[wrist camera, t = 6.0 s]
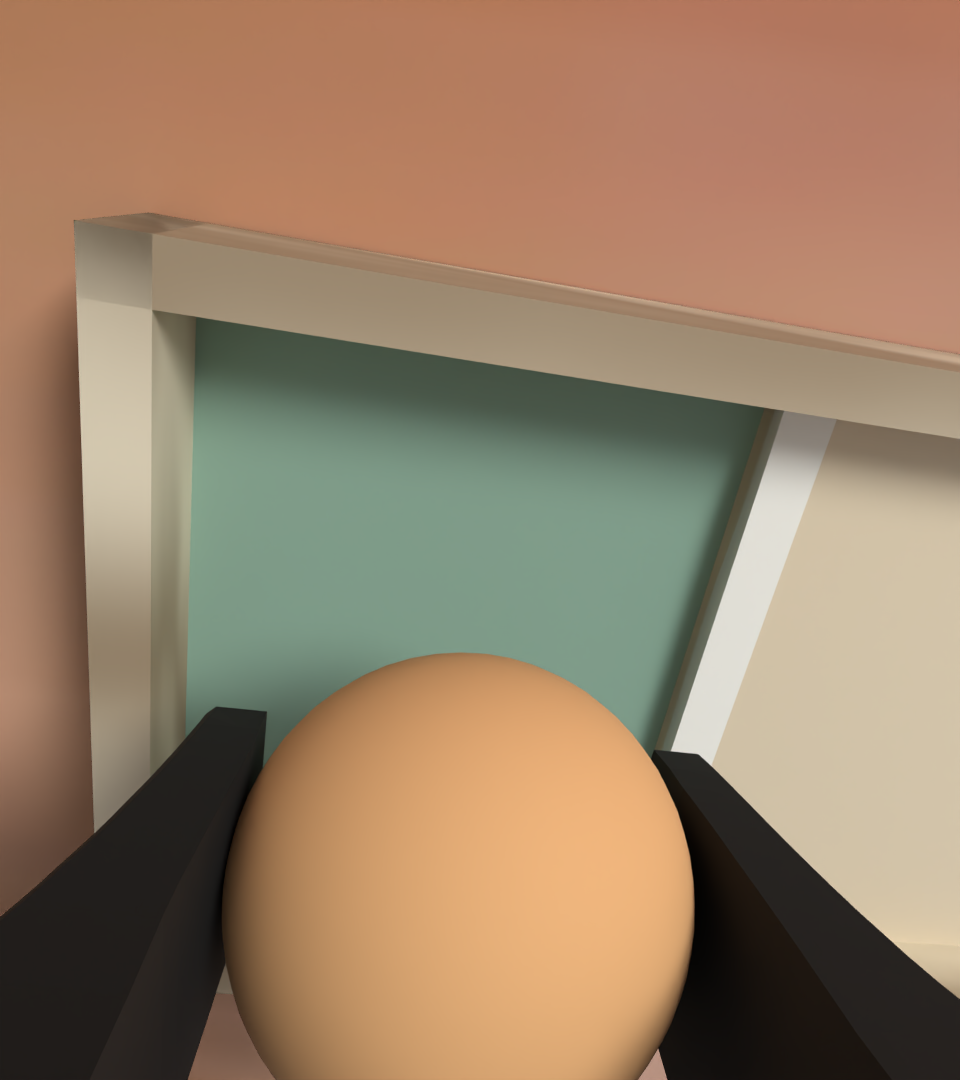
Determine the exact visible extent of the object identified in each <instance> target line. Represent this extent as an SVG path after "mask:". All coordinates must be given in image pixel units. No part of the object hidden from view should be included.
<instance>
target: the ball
mask: <svg viewBox="0 0 960 1080" xmlns="http://www.w3.org/2000/svg"><path fill="white" fill-rule="evenodd" d="M694 919H695V897H694V882H693V874H692V867H691V860H690V854H689V850H688V846H687V842H686V838H685V834H684V831H683V828H682V824H681V821H680V818H679V815H678V811H677V809H676V807H675V804H674V802H673V800H672V798H671V796H670V793H669V791H668V789H667V787H666V785H665V783H664V781H663V779H662V777H661V775H660V773H659V771H658V769H657V768H656V766H655V765H654V763H653V762H652V760H651V759H650V757H649V756H648V754H647V753H646V751H645V750H644V749H643V747H642V746H641V745H640V743H639V742H638V741H637V739H636V738H635V737H634V736H633V734H632V733H631V732H630V731H629V730H628V729H627V728H626V727H625V726H624V725H623V723H622V722H621V721H620V720H619V719H618V718H617V717H616V716H615V715H614V714H612V713H611V712H610V711H609V710H608V709H607V708H605V707H604V706H603V705H602V704H601V703H599V702H598V701H597V700H596V699H594V698H593V697H592V696H591V695H589V694H588V693H587V692H586V691H584V690H582V689H581V688H579V687H577V686H576V685H574V684H572V683H571V682H569V681H567V680H566V679H564V678H562V677H560V676H558V675H555V674H553V673H551V672H549V671H546V670H544V669H542V668H539V667H537V666H535V665H532V664H529V663H526V662H522V661H519V660H515V659H512V658H508V657H502V656H496V655H490V654H481V653H463V652H459V653H442V654H432V655H426V656H420V657H415V658H410V659H406V660H403V661H399V662H396V663H392V664H389V665H386V666H384V667H381V668H379V669H377V670H374V671H372V672H370V673H367V674H365V675H363V676H361V677H360V678H358V679H356V680H354V681H353V682H351V683H349V684H347V685H346V686H344V687H342V688H341V689H339V690H338V691H336V692H334V693H333V694H332V695H330V696H329V697H328V698H326V699H325V700H324V701H322V702H321V703H320V704H318V705H317V706H316V707H314V708H313V709H312V710H311V711H310V712H309V713H308V714H307V715H306V716H305V717H304V718H303V719H302V720H301V721H300V722H299V723H298V724H297V725H296V726H295V727H294V728H293V729H292V730H291V731H290V733H289V734H288V735H287V736H286V737H285V738H284V739H283V740H282V742H281V743H280V744H279V746H278V747H277V748H276V750H275V751H274V752H273V754H272V755H271V756H270V758H269V760H268V761H267V763H266V764H265V766H264V768H263V769H262V771H261V772H260V774H259V776H258V778H257V779H256V781H255V783H254V785H253V787H252V789H251V791H250V793H249V794H248V796H247V799H246V801H245V804H244V807H243V809H242V812H241V814H240V817H239V819H238V822H237V825H236V828H235V832H234V835H233V839H232V843H231V847H230V851H229V855H228V859H227V864H226V870H225V877H224V884H223V895H222V935H223V945H224V953H225V961H226V967H227V972H228V976H229V980H230V984H231V988H232V992H233V995H234V998H235V1001H236V1005H237V1008H238V1011H239V1014H240V1016H241V1019H242V1021H243V1023H244V1026H245V1028H246V1030H247V1032H248V1034H249V1036H250V1038H251V1040H252V1042H253V1044H254V1046H255V1048H256V1050H257V1052H258V1054H259V1056H260V1057H261V1059H262V1060H263V1062H264V1063H265V1065H266V1066H267V1068H268V1069H269V1071H270V1072H271V1074H272V1075H273V1076H274V1078H275V1079H276V1080H638V1079H639V1077H640V1076H641V1074H642V1073H643V1072H644V1070H645V1069H646V1067H647V1066H648V1064H649V1063H650V1061H651V1059H652V1058H653V1056H654V1054H655V1053H656V1051H657V1049H658V1048H659V1046H660V1044H661V1043H662V1041H663V1039H664V1037H665V1035H666V1033H667V1031H668V1029H669V1027H670V1025H671V1022H672V1020H673V1017H674V1014H675V1012H676V1009H677V1006H678V1004H679V1001H680V999H681V995H682V992H683V989H684V985H685V982H686V979H687V974H688V968H689V963H690V958H691V953H692V945H693V937H694Z"/></svg>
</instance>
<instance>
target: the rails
mask: <svg viewBox="0 0 960 1080" xmlns="http://www.w3.org/2000/svg"><path fill="white" fill-rule="evenodd" d="M74 236H75V267H76V297H77V327H78V357H79V387H80V417H81V448H82V478H83V508H84V538H85V568H86V599H87V629H88V659H89V689H90V719H91V749H92V780H93V810H94V833H95V832H96V831H97V830H98V829H99V828H100V827H101V826H103V825H104V824H105V823H106V822H107V821H108V820H109V819H110V818H111V817H112V816H113V815H114V814H115V813H116V812H117V810H118V809H119V808H120V807H121V806H122V805H123V804H124V803H125V802H126V801H127V800H128V799H129V798H130V797H131V796H132V795H133V794H134V793H135V792H136V791H137V790H138V789H139V788H140V787H141V786H142V785H143V784H144V783H145V782H146V781H147V780H148V779H149V778H150V777H151V776H152V775H153V774H154V773H155V772H156V770H157V769H158V768H159V767H160V766H161V765H162V764H163V763H164V762H165V761H166V760H167V759H168V758H169V756H170V755H171V754H172V753H173V752H174V751H175V750H176V749H177V747H178V746H179V745H180V744H181V743H182V742H183V741H184V739H185V727H186V688H187V649H188V611H189V572H190V533H191V495H192V456H193V417H194V379H195V340H196V317H201V318H207V319H213V320H220V321H226V322H232V323H238V324H245V325H251V326H257V327H263V328H270V329H276V330H282V331H288V332H295V333H301V334H307V335H313V336H320V337H326V338H332V339H338V340H345V341H351V342H357V343H363V344H370V345H376V346H382V347H388V348H395V349H401V350H407V351H413V352H420V353H426V354H432V355H438V356H445V357H451V358H457V359H463V360H470V361H476V362H482V363H488V364H495V365H501V366H507V367H513V368H520V369H526V370H532V371H538V372H545V373H551V374H557V375H563V376H570V377H576V378H582V379H588V380H595V381H601V382H607V383H613V384H620V385H626V386H632V387H638V388H645V389H651V390H657V391H663V392H670V393H676V394H682V395H688V396H695V397H701V398H707V399H713V400H720V401H726V402H732V403H738V404H745V405H751V406H757V407H763V408H770V409H776V410H782V411H789V412H795V413H801V414H807V415H814V416H820V417H826V418H832V419H839V420H845V421H851V422H857V423H864V424H870V425H876V426H882V427H889V428H895V429H901V430H907V431H914V432H920V433H926V434H932V435H939V436H945V437H951V438H957V439H960V355H959V354H953V353H948V352H942V351H936V350H930V349H925V348H919V347H913V346H908V345H902V344H896V343H890V342H885V341H879V340H873V339H868V338H862V337H856V336H851V335H845V334H839V333H833V332H828V331H822V330H816V329H811V328H805V327H799V326H793V325H788V324H782V323H776V322H771V321H765V320H759V319H753V318H748V317H742V316H736V315H731V314H725V313H719V312H713V311H708V310H702V309H696V308H691V307H685V306H679V305H673V304H668V303H662V302H656V301H651V300H645V299H639V298H633V297H628V296H622V295H616V294H611V293H605V292H599V291H593V290H588V289H582V288H576V287H571V286H565V285H559V284H553V283H548V282H542V281H536V280H531V279H525V278H519V277H514V276H508V275H502V274H496V273H491V272H485V271H479V270H474V269H468V268H462V267H456V266H451V265H445V264H439V263H434V262H428V261H422V260H416V259H411V258H405V257H399V256H394V255H388V254H382V253H376V252H371V251H365V250H359V249H354V248H348V247H342V246H336V245H331V244H325V243H319V242H314V241H308V240H302V239H296V238H291V237H285V236H279V235H274V234H268V233H262V232H256V231H251V230H245V229H239V228H234V227H228V226H222V225H216V224H211V223H205V222H199V221H194V220H188V219H182V218H177V217H171V216H165V215H159V214H154V213H141V214H131V215H121V216H111V217H102V218H92V219H82V220H74ZM892 942H893V943H894V944H895V945H896V946H897V947H899V948H900V949H901V950H902V951H903V952H904V953H905V954H906V955H908V956H909V957H910V958H911V959H912V960H913V961H914V962H916V963H917V964H918V965H919V966H920V967H922V968H923V969H924V970H925V971H926V972H927V973H929V974H930V975H931V976H932V977H933V978H934V979H936V980H937V981H938V982H939V983H940V984H942V985H943V986H944V987H945V988H947V989H948V990H949V991H950V992H952V993H953V994H954V995H955V996H957V997H958V998H959V999H960V946H953V945H938V944H924V943H909V942H894V941H892ZM216 993H218V994H233V992H232V988H231V984H230V980H229V976H228V972H227V967H226V964H225V967H224V970H223V973H222V976H221V979H220V982H219V985H218V988H217V991H216Z"/></svg>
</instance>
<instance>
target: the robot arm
mask: <svg viewBox="0 0 960 1080" xmlns="http://www.w3.org/2000/svg"><path fill="white" fill-rule="evenodd" d="M266 720H267V711H258V710H248V709H237V708H227V707H217V706H216V707H215V708H213V709H212V710H210V711H209V712H208V713H206V714H205V716H204V717H203V718H202V719H201V721H200V722H199V723H198V724H197V725H196V727H195V728H194V729H193V730H192V731H191V732H190V734H189V735H188V736H187V737H186V738H185V739H184V741H183V742H182V743H181V744H180V745H179V746H178V747H177V749H176V750H175V751H174V752H173V753H172V754H171V755H170V756H169V758H168V759H167V760H166V761H165V762H164V763H163V764H162V765H161V766H160V767H159V768H158V769H157V770H156V772H155V773H154V774H153V775H152V776H151V777H150V778H149V779H148V780H147V781H146V782H145V783H144V784H143V785H142V786H141V787H140V788H139V789H138V790H137V791H136V792H135V793H134V794H133V795H132V796H131V797H130V798H129V799H128V800H127V801H126V802H125V803H124V804H123V805H122V806H121V807H120V808H119V809H118V810H117V812H116V813H115V814H114V815H113V816H112V817H111V818H110V819H109V820H108V821H107V822H106V823H105V824H104V825H103V826H101V827H100V828H99V829H98V830H97V831H96V832H95V833H94V834H93V835H92V836H91V837H90V838H89V839H88V840H87V841H86V842H84V843H83V844H82V845H81V846H80V847H79V848H78V849H77V850H76V851H75V852H73V853H72V854H71V855H70V856H69V857H68V858H67V859H66V860H65V861H64V862H63V863H61V864H60V865H59V866H58V867H57V868H56V869H55V870H54V871H53V872H52V873H50V874H49V875H48V876H47V877H46V878H45V879H44V880H43V881H42V882H41V883H39V884H38V885H37V886H36V887H35V888H34V889H33V890H31V891H30V892H29V893H28V894H27V895H26V896H25V897H23V898H22V899H21V900H20V901H19V902H17V903H16V904H15V905H14V906H13V907H12V908H10V909H9V910H8V911H7V912H6V913H4V914H3V915H2V916H1V917H0V1080H187V1079H188V1076H189V1073H190V1070H191V1067H192V1064H193V1061H194V1058H195V1055H196V1052H197V1049H198V1046H199V1043H200V1040H201V1037H202V1034H203V1031H204V1028H205V1025H206V1022H207V1019H208V1016H209V1013H210V1010H211V1006H212V1003H213V1000H214V997H215V994H216V991H217V988H218V985H219V982H220V979H221V976H222V973H223V970H224V967H225V964H226V961H225V953H224V945H223V935H222V895H223V884H224V877H225V870H226V864H227V859H228V855H229V851H230V847H231V843H232V839H233V835H234V832H235V828H236V825H237V822H238V819H239V817H240V814H241V812H242V809H243V807H244V804H245V801H246V799H247V796H248V794H249V793H250V791H251V789H252V787H253V785H254V783H255V781H256V779H257V778H258V776H259V774H260V772H261V771H262V769H263V760H264V747H265V733H266ZM651 760H652V762H653V763H654V765H655V766H656V768H657V769H658V771H659V773H660V775H661V777H662V779H663V781H664V783H665V785H666V787H667V789H668V791H669V793H670V796H671V798H672V800H673V802H674V804H675V807H676V809H677V811H678V815H679V818H680V821H681V824H682V828H683V831H684V834H685V838H686V842H687V846H688V850H689V854H690V860H691V867H692V874H693V882H694V897H695V919H694V937H693V945H692V953H691V958H690V963H689V968H688V974H687V979H686V982H685V985H684V989H683V992H682V995H681V999H680V1001H679V1004H678V1006H677V1009H676V1012H675V1014H674V1017H673V1020H672V1022H671V1025H670V1027H669V1029H668V1031H667V1033H666V1035H665V1037H664V1039H663V1041H662V1043H661V1044H660V1046H659V1048H658V1049H659V1052H660V1056H661V1059H662V1063H663V1066H664V1070H665V1073H666V1076H667V1080H960V999H959V998H958V997H957V996H955V995H954V994H953V993H952V992H950V991H949V990H948V989H947V988H945V987H944V986H943V985H942V984H940V983H939V982H938V981H937V980H936V979H934V978H933V977H932V976H931V975H930V974H929V973H927V972H926V971H925V970H924V969H923V968H922V967H920V966H919V965H918V964H917V963H916V962H914V961H913V960H912V959H911V958H910V957H909V956H908V955H906V954H905V953H904V952H903V951H902V950H901V949H900V948H899V947H897V946H896V945H895V944H894V943H893V942H892V941H891V940H890V939H889V938H887V937H886V936H885V935H884V934H883V933H882V932H881V931H880V930H879V929H877V928H876V927H875V926H874V925H873V924H872V923H871V922H870V921H869V920H867V919H866V918H865V917H864V916H863V915H862V914H861V913H860V912H859V911H857V910H856V909H855V908H854V907H853V906H852V905H851V904H850V903H849V902H848V901H847V900H846V899H845V898H844V897H843V896H842V895H841V894H839V893H838V892H837V891H836V890H835V889H834V888H833V887H832V886H831V885H830V884H829V883H828V882H827V881H826V880H825V879H824V878H823V877H822V876H821V875H820V874H819V873H818V872H817V871H816V870H814V869H813V868H812V867H811V866H810V865H809V864H808V863H807V862H806V861H805V860H804V859H803V858H802V857H801V856H800V855H799V854H798V853H797V852H796V851H795V850H794V849H793V848H792V847H791V846H790V845H789V844H788V843H787V842H786V841H785V840H784V839H783V838H782V837H781V836H780V835H779V834H778V833H777V832H776V831H775V830H774V829H773V828H772V827H771V826H770V825H769V824H768V823H767V822H766V821H765V819H764V818H763V817H762V816H761V815H760V814H759V813H758V812H757V811H756V810H755V809H754V808H753V807H752V806H751V805H750V804H749V803H748V802H747V801H746V800H745V799H744V798H743V797H742V796H741V795H740V794H739V793H738V792H737V791H736V790H735V789H734V788H733V787H732V786H731V785H730V784H729V783H728V782H727V781H726V780H725V779H724V778H723V777H722V776H721V775H720V774H719V773H718V772H717V771H716V770H715V769H714V768H713V767H712V766H711V765H710V764H709V763H708V762H706V761H705V760H704V759H703V758H702V757H701V756H700V755H699V754H693V753H683V752H673V751H663V750H654V751H653V754H652V757H651Z"/></svg>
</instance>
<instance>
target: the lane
mask: <svg viewBox="0 0 960 1080" xmlns="http://www.w3.org/2000/svg"><path fill="white" fill-rule="evenodd" d="M459 652H463V653H481V654H490V655H496V656H502V657H508V658H512V659H515V660H519V661H522V662H526V663H529V664H532V665H535V666H537V667H539V668H542V669H544V670H546V671H549V672H551V673H553V674H555V675H558V676H560V677H562V678H564V679H566V680H567V681H569V682H571V683H572V684H574V685H576V686H577V687H579V688H581V689H582V690H584V691H586V692H587V693H588V694H589V695H591V696H592V697H593V698H594V699H596V700H597V701H598V702H599V703H601V704H602V705H603V706H604V707H605V708H607V709H608V710H609V711H610V712H611V713H612V714H614V715H615V716H616V717H617V718H618V719H619V720H620V721H621V722H622V723H623V725H624V726H625V727H626V728H627V729H628V730H629V731H630V732H631V733H632V734H633V736H634V737H635V738H636V739H637V741H638V742H639V743H640V745H641V746H642V747H643V749H644V750H645V751H646V753H647V754H648V756H649V757H650V759H651V757H652V754H653V751H654V750H663V751H673V752H683V753H693V754H699V755H700V756H701V757H702V758H703V759H704V760H705V761H706V762H708V763H709V764H710V765H711V766H712V767H713V768H714V769H715V770H716V771H717V772H718V773H719V774H720V775H721V776H722V777H723V778H724V779H725V780H726V781H727V782H728V783H729V784H730V785H731V786H732V787H733V788H734V789H735V790H736V791H737V792H738V793H739V794H740V795H741V796H742V797H743V798H744V799H745V800H746V801H747V802H748V803H749V804H750V805H751V806H752V807H753V808H754V809H755V810H756V811H757V812H758V813H759V814H760V815H761V816H762V817H763V818H764V819H765V821H766V822H767V823H768V824H769V825H770V826H771V827H772V828H773V829H774V830H775V831H776V832H777V833H778V834H779V835H780V836H781V837H782V838H783V839H784V840H785V841H786V842H787V843H788V844H789V845H790V846H791V847H792V848H793V849H794V850H795V851H796V852H797V853H798V854H799V855H800V856H801V857H802V858H803V859H804V860H805V861H806V862H807V863H808V864H809V865H810V866H811V867H812V868H813V869H814V870H816V871H817V872H818V873H819V874H820V875H821V876H822V877H823V878H824V879H825V880H826V881H827V882H828V883H829V884H830V885H831V886H832V887H833V888H834V889H835V890H836V891H837V892H838V893H839V894H841V895H842V896H843V897H844V898H845V899H846V900H847V901H848V902H849V903H850V904H851V905H852V906H853V907H854V908H855V909H856V910H857V911H859V912H860V913H861V914H862V915H863V916H864V917H865V918H866V919H867V920H869V921H870V922H871V923H872V924H873V925H874V926H875V927H876V928H877V929H879V930H880V931H881V932H882V933H883V934H884V935H885V936H886V937H887V938H889V939H890V940H891V941H894V942H909V943H924V944H938V945H953V946H960V439H957V438H951V437H945V436H939V435H932V434H926V433H920V432H914V431H907V430H901V429H895V428H889V427H882V426H876V425H870V424H864V423H857V422H851V421H845V420H839V419H832V418H826V417H820V416H814V415H807V414H801V413H795V412H789V411H782V410H776V409H770V408H763V407H757V406H751V405H745V404H738V403H732V402H726V401H720V400H713V399H707V398H701V397H695V396H688V395H682V394H676V393H670V392H663V391H657V390H651V389H645V388H638V387H632V386H626V385H620V384H613V383H607V382H601V381H595V380H588V379H582V378H576V377H570V376H563V375H557V374H551V373H545V372H538V371H532V370H526V369H520V368H513V367H507V366H501V365H495V364H488V363H482V362H476V361H470V360H463V359H457V358H451V357H445V356H438V355H432V354H426V353H420V352H413V351H407V350H401V349H395V348H388V347H382V346H376V345H370V344H363V343H357V342H351V341H345V340H338V339H332V338H326V337H320V336H313V335H307V334H301V333H295V332H288V331H282V330H276V329H270V328H263V327H257V326H251V325H245V324H238V323H232V322H226V321H220V320H213V319H207V318H201V317H196V340H195V379H194V417H193V456H192V495H191V533H190V572H189V611H188V649H187V688H186V727H185V738H186V737H187V736H188V735H189V734H190V732H191V731H192V730H193V729H194V728H195V727H196V725H197V724H198V723H199V722H200V721H201V719H202V718H203V717H204V716H205V714H206V713H208V712H209V711H210V710H212V709H213V708H215V707H216V706H217V707H227V708H237V709H248V710H258V711H267V720H266V733H265V747H264V760H263V768H264V766H265V764H266V763H267V761H268V760H269V758H270V756H271V755H272V754H273V752H274V751H275V750H276V748H277V747H278V746H279V744H280V743H281V742H282V740H283V739H284V738H285V737H286V736H287V735H288V734H289V733H290V731H291V730H292V729H293V728H294V727H295V726H296V725H297V724H298V723H299V722H300V721H301V720H302V719H303V718H304V717H305V716H306V715H307V714H308V713H309V712H310V711H311V710H312V709H313V708H314V707H316V706H317V705H318V704H320V703H321V702H322V701H324V700H325V699H326V698H328V697H329V696H330V695H332V694H333V693H334V692H336V691H338V690H339V689H341V688H342V687H344V686H346V685H347V684H349V683H351V682H353V681H354V680H356V679H358V678H360V677H361V676H363V675H365V674H367V673H370V672H372V671H374V670H377V669H379V668H381V667H384V666H386V665H389V664H392V663H396V662H399V661H403V660H406V659H410V658H415V657H420V656H426V655H432V654H442V653H459Z"/></svg>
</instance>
